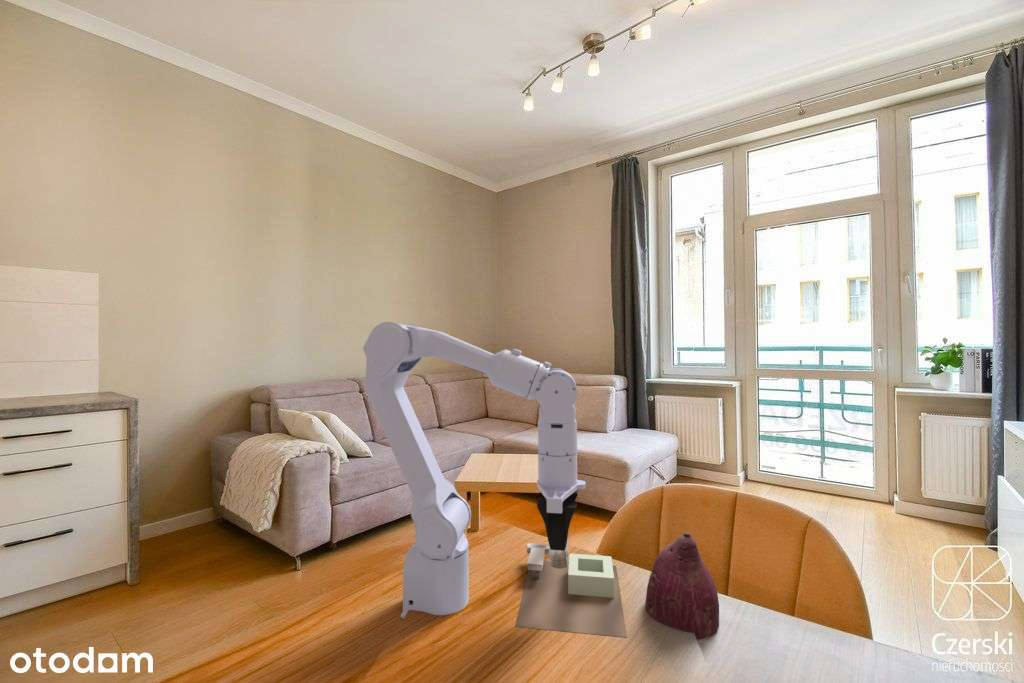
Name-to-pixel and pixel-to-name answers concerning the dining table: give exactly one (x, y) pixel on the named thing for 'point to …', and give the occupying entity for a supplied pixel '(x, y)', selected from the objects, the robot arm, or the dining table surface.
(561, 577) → the board
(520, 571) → the dining table surface
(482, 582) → the dining table surface
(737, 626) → the dining table surface
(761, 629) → the dining table surface
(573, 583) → the square hollow frame
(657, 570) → the vegetable
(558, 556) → the pin
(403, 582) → the robot arm
